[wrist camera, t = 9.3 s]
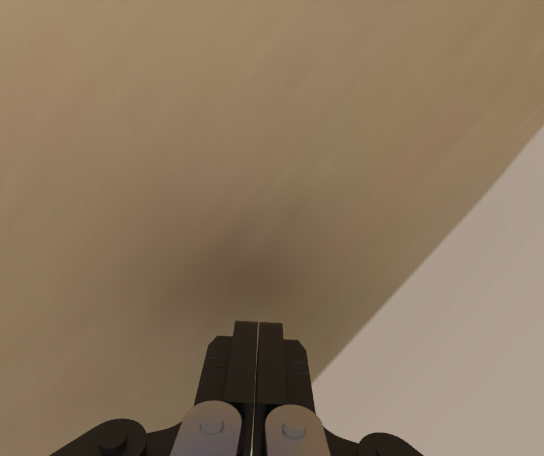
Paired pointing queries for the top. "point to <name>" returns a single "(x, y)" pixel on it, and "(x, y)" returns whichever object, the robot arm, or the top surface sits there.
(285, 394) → the robot arm
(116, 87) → the top surface
